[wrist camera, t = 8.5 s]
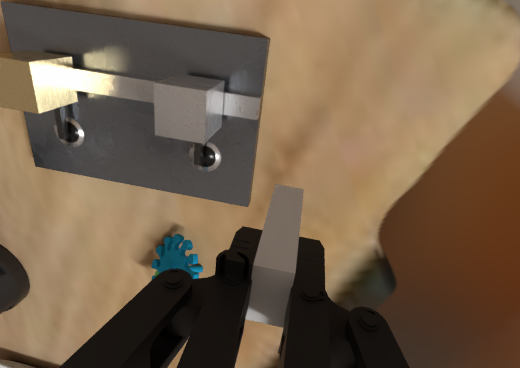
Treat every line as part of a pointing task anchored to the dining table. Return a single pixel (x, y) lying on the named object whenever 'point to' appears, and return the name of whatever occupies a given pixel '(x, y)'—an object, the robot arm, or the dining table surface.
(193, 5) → the dining table surface
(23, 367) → the square plate
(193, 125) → the block
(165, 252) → the gear
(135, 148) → the plate
